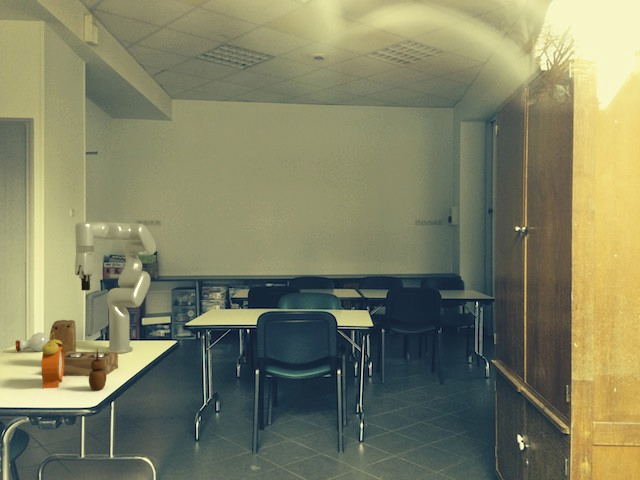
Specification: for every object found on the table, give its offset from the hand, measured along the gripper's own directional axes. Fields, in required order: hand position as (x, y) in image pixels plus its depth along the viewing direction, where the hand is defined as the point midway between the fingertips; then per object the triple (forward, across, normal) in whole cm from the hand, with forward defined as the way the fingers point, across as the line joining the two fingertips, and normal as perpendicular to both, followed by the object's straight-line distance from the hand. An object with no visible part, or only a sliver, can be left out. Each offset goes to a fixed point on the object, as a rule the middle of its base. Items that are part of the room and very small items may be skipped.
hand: (85, 290), depth 247 cm
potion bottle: (+34, -22, -37) cm, 55 cm away
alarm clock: (+32, +36, +2) cm, 48 cm away
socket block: (+33, +16, +6) cm, 37 cm away
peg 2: (+32, +17, +12) cm, 38 cm away
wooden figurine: (+32, +42, +22) cm, 57 cm away
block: (+33, +6, -9) cm, 35 cm away
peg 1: (+32, +17, +2) cm, 36 cm away
